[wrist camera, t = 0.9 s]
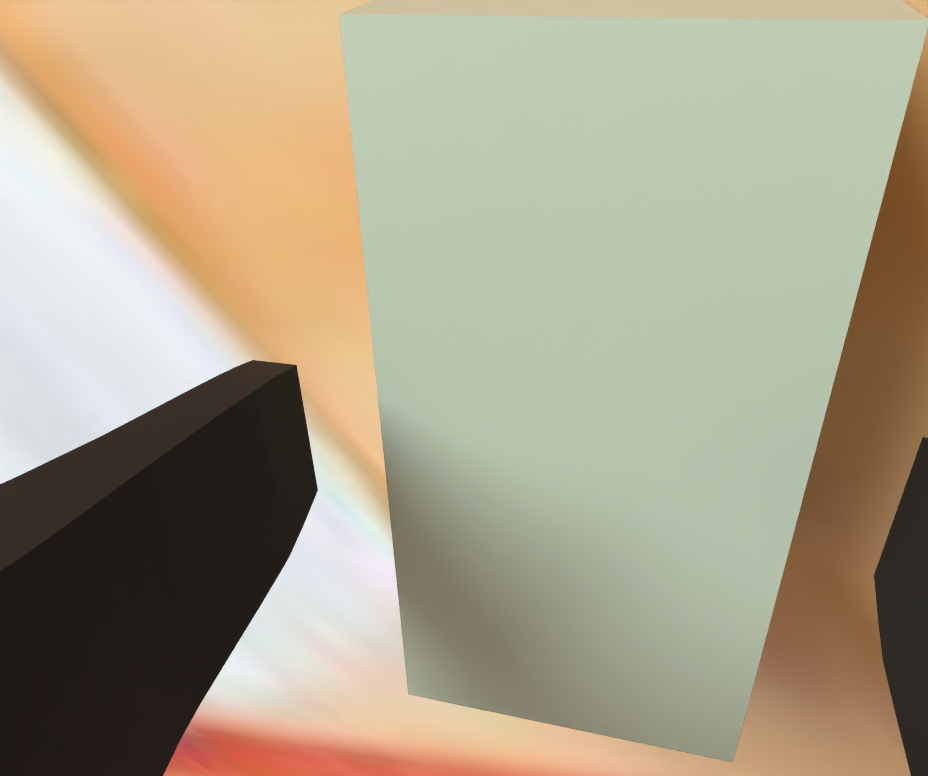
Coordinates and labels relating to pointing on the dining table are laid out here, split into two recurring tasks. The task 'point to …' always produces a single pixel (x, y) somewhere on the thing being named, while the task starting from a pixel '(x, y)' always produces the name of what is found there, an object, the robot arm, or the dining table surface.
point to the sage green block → (611, 330)
